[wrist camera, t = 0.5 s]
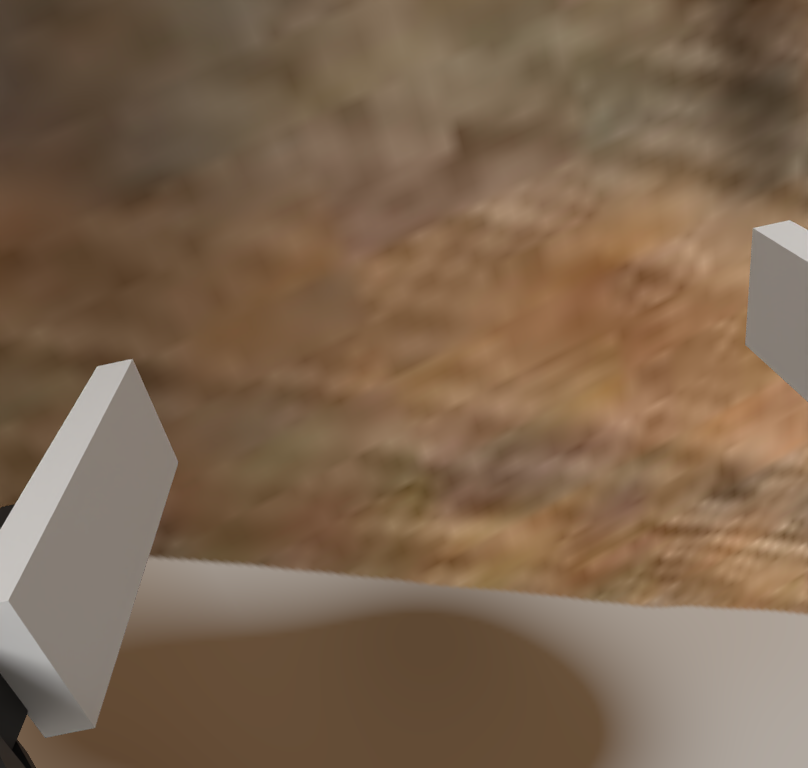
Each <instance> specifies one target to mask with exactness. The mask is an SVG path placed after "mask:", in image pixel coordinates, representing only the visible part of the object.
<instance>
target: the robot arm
mask: <svg viewBox="0 0 808 768" xmlns="http://www.w3.org/2000/svg"><path fill="white" fill-rule="evenodd" d="M745 345H746V346H747V347H748V348H749V349H751V350H752V351H753V352H754V353H755V354H756V355H757V356H758V357H759V358H760V359H762V360H763V361H764V362H765V363H766V364H767V365H768V366H769V367H770V368H771V369H772V370H774V371H775V372H776V373H777V374H778V375H779V376H780V377H781V378H782V379H783V380H784V381H786V382H787V383H788V384H789V385H790V386H791V387H792V388H793V389H794V390H795V391H797V392H798V393H799V394H800V395H801V396H802V397H803V398H804V399H805V400H806V401H807V402H808V230H807V229H805V228H803V227H801V226H799V225H798V224H796V223H794V222H792V221H790V220H789V221H784V222H779V223H775V224H770V225H765V226H760V227H756V228H753V235H752V250H751V265H750V281H749V296H748V312H747V327H746V342H745ZM177 465H178V460H177V458H176V456H175V453H174V451H173V449H172V447H171V444H170V442H169V440H168V438H167V435H166V433H165V431H164V429H163V426H162V424H161V422H160V420H159V417H158V415H157V413H156V411H155V408H154V406H153V404H152V402H151V399H150V397H149V395H148V392H147V390H146V388H145V386H144V383H143V381H142V379H141V377H140V374H139V372H138V370H137V368H136V365H135V363H134V361H133V359H130V360H125V361H120V362H116V363H111V364H106V365H101V366H97V368H96V369H95V371H94V373H93V374H92V376H91V378H90V379H89V381H88V383H87V384H86V386H85V388H84V389H83V391H82V393H81V394H80V396H79V398H78V400H77V401H76V403H75V405H74V406H73V408H72V410H71V411H70V413H69V415H68V416H67V418H66V420H65V421H64V423H63V425H62V426H61V428H60V430H59V431H58V433H57V435H56V437H55V438H54V440H53V442H52V443H51V445H50V447H49V448H48V450H47V452H46V453H45V455H44V457H43V458H42V460H41V462H40V463H39V465H38V467H37V468H36V470H35V472H34V474H33V475H32V477H31V479H30V480H29V482H28V484H27V485H26V487H25V489H24V490H23V492H22V494H21V495H20V497H19V499H18V500H17V502H16V504H14V505H10V506H5V507H1V508H0V768H36V767H35V765H34V764H33V762H32V760H31V758H30V757H29V755H28V753H27V752H26V750H25V749H24V748H23V747H22V745H21V744H20V743H19V741H18V740H17V737H18V735H19V732H20V730H21V728H22V725H23V723H24V720H25V718H26V715H27V714H28V716H29V717H30V718H31V720H32V721H33V722H34V724H35V725H36V726H37V728H38V729H39V730H40V732H41V733H42V734H43V736H44V737H45V738H46V737H52V736H56V735H62V734H66V733H71V732H77V731H81V730H87V729H92V728H95V725H96V723H97V719H98V716H99V713H100V710H101V707H102V703H103V700H104V697H105V694H106V691H107V688H108V684H109V681H110V678H111V674H112V672H113V668H114V665H115V662H116V659H117V656H118V653H119V649H120V646H121V643H122V639H123V637H124V634H125V630H126V627H127V624H128V621H129V618H130V615H131V611H132V608H133V605H134V602H135V599H136V595H137V592H138V589H139V586H140V583H141V580H142V576H143V573H144V570H145V567H146V563H147V560H148V557H149V554H150V551H151V548H152V545H153V541H154V538H155V535H156V532H157V529H158V526H159V522H160V519H161V516H162V513H163V510H164V506H165V503H166V500H167V497H168V494H169V491H170V487H171V484H172V481H173V478H174V475H175V471H176V468H177Z"/></svg>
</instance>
